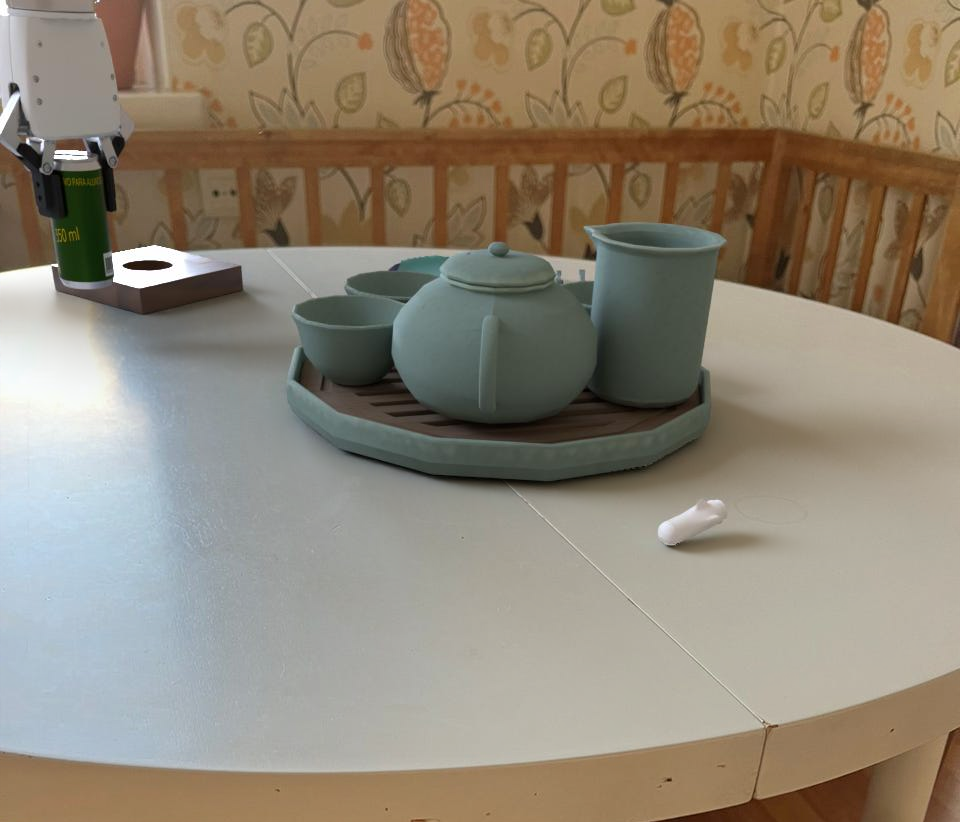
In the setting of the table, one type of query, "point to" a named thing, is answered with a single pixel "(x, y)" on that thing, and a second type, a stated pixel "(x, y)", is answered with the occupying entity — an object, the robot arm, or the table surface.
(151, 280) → the holder
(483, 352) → the tea set
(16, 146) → the robot arm
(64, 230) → the beer can
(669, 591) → the table surface
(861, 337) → the table surface
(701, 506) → the small white plastic part
